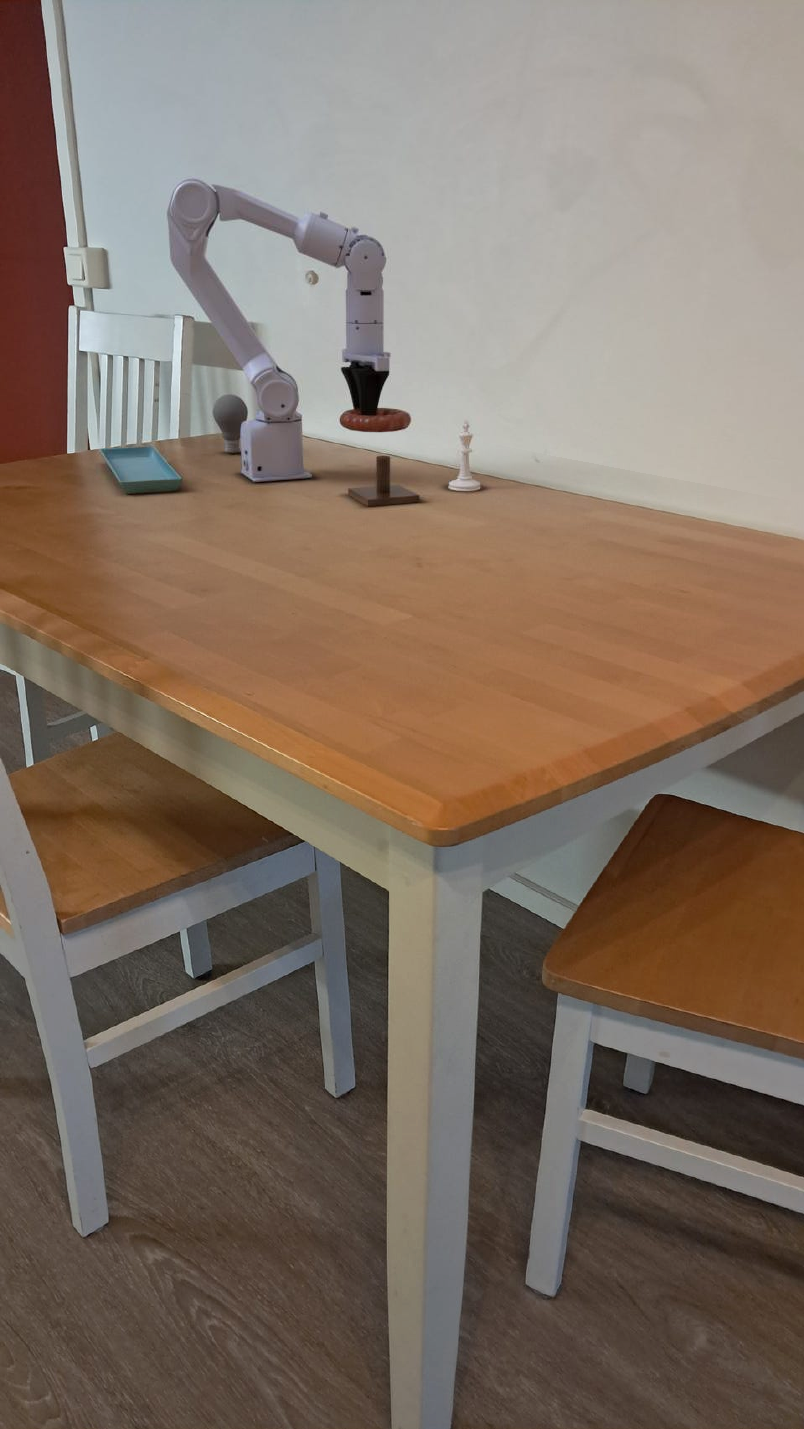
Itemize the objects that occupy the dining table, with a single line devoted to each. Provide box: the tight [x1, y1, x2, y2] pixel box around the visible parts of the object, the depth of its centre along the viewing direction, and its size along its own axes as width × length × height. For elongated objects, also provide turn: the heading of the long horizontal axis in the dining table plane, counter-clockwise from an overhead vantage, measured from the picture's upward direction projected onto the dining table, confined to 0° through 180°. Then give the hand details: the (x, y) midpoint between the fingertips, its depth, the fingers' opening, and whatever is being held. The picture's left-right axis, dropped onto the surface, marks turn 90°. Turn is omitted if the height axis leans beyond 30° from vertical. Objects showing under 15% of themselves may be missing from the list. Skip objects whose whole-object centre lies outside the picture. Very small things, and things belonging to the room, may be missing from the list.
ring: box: [339, 407, 412, 433], centre depth 164 cm, size 11×11×2 cm
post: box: [347, 455, 420, 507], centre depth 154 cm, size 8×8×6 cm
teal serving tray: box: [99, 445, 183, 495], centre depth 167 cm, size 26×9×2 cm, turn 21°
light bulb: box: [212, 393, 249, 455], centre depth 185 cm, size 6×6×10 cm
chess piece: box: [447, 419, 482, 492], centre depth 160 cm, size 5×5×10 cm
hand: (365, 414), depth 167 cm, fingers closed on ring, 2 cm apart
